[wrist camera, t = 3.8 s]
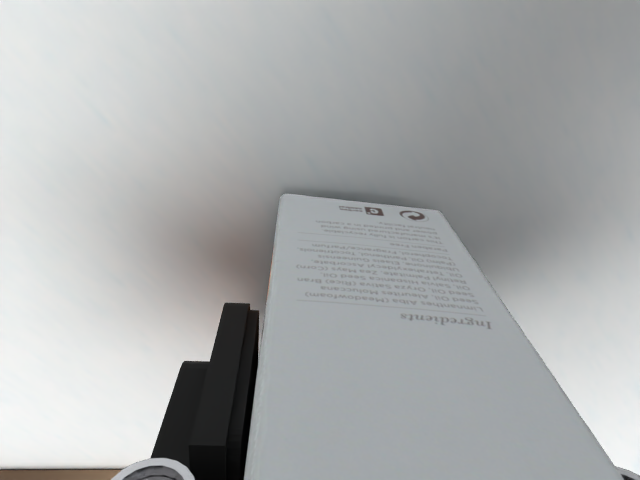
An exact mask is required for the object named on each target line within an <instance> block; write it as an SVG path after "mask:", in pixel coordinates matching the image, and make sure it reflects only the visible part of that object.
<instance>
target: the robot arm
mask: <svg viewBox="0 0 640 480" xmlns="http://www.w3.org/2000/svg"><path fill="white" fill-rule="evenodd" d="M258 340H259V310H250V304H245V303H225V304H224V307H223V311H222V315H221V319H220V323H219V327H218V331H217V335H216V339H215V343H214V347H213V351H212V355H211V359H210V362H202V361H184V362H183V363H182V366H181V368H180V371H179V374H178V377H177V380H176V383H175V386H174V389H173V392H172V395H171V398H170V401H169V404H168V407H167V410H166V413H165V416H164V419H163V422H162V425H161V428H160V431H159V434H158V437H157V440H156V443H155V446H154V449H153V452H152V455H151V458H150V459H146V460H143V461H139V462H136V463H134V464H132V465H130V466H128V467H126V468H124V469H123V470H121V471H120V472H119V473H118V474H117V475H116V476H114V477H113V478H112V479H111V480H244V473H245V465H246V457H247V448H248V440H249V432H250V424H251V416H252V408H253V400H254V392H255V384H256V376H257V369H258ZM615 467H616V466H615ZM616 469H617V470H618V472H619V473H620V474H621V476H622V477H623V479H624V480H640V476H639V475H637V474H635V473H633V472H631V471H629V470H626V469H623V468H619V467H616Z"/></svg>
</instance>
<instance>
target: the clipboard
mask: <svg viewBox="0 0 640 480" xmlns="http://www.w3.org/2000/svg"><path fill="white" fill-rule="evenodd" d="M120 471H121V470H0V480H111V479H112V478H113V477H114V476H116V475H117V474H118V473H119V472H120Z"/></svg>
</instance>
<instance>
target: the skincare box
mask: <svg viewBox="0 0 640 480" xmlns="http://www.w3.org/2000/svg"><path fill="white" fill-rule="evenodd" d="M244 480H624V479H623V477H622V476H621V474H620V473H619V472H618V470H617V469H616V467H615V466H614V464H613V463H612V461H611V460H610V458H609V457H608V455H607V454H606V453H605V451H604V450H603V448H602V447H601V445H600V444H599V442H598V441H597V439H596V438H595V436H594V435H593V433H592V432H591V430H590V429H589V427H588V426H587V425H586V423H585V422H584V420H583V419H582V418H581V416H580V415H579V413H578V412H577V410H576V409H575V407H574V406H573V404H572V403H571V401H570V400H569V398H568V397H567V396H566V394H565V393H564V391H563V390H562V388H561V387H560V385H559V384H558V382H557V381H556V379H555V377H554V376H553V375H552V373H551V372H550V371H549V369H548V368H547V366H546V365H545V363H544V361H543V360H542V358H541V357H540V356H539V354H538V353H537V351H536V350H535V348H534V347H533V346H532V344H531V343H530V341H529V340H528V339H527V337H526V336H525V334H524V333H523V331H522V330H521V328H520V326H519V325H518V324H517V322H516V321H515V320H514V318H513V317H512V315H511V314H510V312H509V311H508V309H507V308H506V306H505V305H504V303H503V302H502V300H501V299H500V297H499V296H498V295H497V293H496V292H495V290H494V289H493V287H492V286H491V284H490V283H489V281H488V280H487V279H486V277H485V275H484V274H483V272H482V271H481V269H480V268H479V266H478V265H477V263H476V262H475V260H474V259H473V257H472V256H471V255H470V253H469V252H468V250H467V249H466V247H465V246H464V245H463V243H462V242H461V240H460V239H459V237H458V236H457V234H456V233H455V231H454V230H453V229H452V227H451V226H450V224H449V223H448V221H447V220H446V218H445V217H444V215H443V214H442V213H441V212H440V211H438V210H432V209H422V208H413V207H403V206H395V205H385V204H375V203H366V202H358V201H348V200H339V199H331V198H322V197H312V196H305V195H297V194H284V195H282V196H281V198H280V200H279V208H278V215H277V222H276V231H275V240H274V247H273V255H272V262H271V270H270V277H269V285H268V293H267V301H266V309H265V316H264V323H263V330H262V337H261V345H260V353H259V361H258V369H257V376H256V384H255V392H254V400H253V408H252V416H251V424H250V432H249V440H248V448H247V457H246V465H245V473H244Z"/></svg>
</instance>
